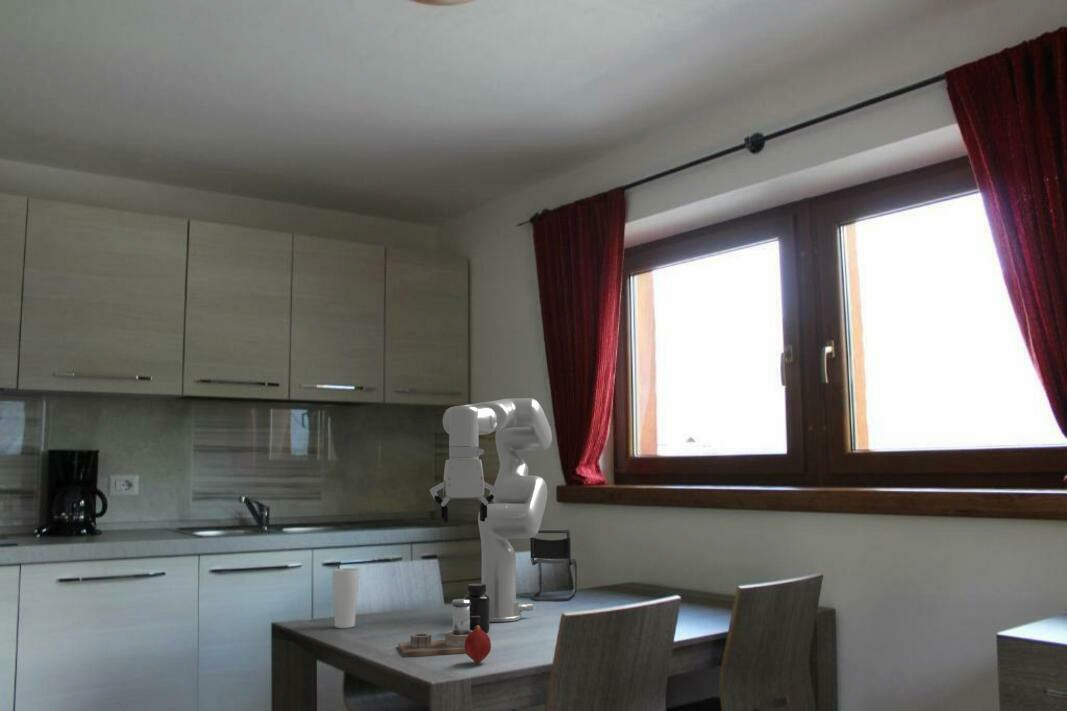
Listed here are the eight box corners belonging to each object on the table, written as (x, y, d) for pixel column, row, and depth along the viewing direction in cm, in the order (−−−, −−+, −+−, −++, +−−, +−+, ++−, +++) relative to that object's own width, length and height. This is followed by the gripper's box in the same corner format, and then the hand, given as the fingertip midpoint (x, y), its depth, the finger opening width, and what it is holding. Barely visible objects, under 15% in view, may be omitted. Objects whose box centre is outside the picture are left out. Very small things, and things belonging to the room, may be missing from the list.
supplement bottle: (469, 635, 234) (469, 586, 235) (458, 631, 240) (458, 583, 241) (494, 633, 237) (494, 585, 238) (483, 629, 243) (483, 582, 244)
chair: (528, 601, 291) (527, 529, 293) (538, 593, 308) (537, 525, 310) (569, 601, 289) (568, 529, 291) (577, 594, 305) (576, 526, 308)
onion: (464, 660, 205) (464, 623, 206) (490, 659, 205) (490, 622, 206) (464, 666, 199) (464, 627, 200) (491, 665, 199) (491, 627, 200)
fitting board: (476, 642, 225) (476, 627, 226) (487, 651, 214) (487, 636, 214) (398, 646, 220) (398, 631, 221) (404, 657, 209) (404, 641, 209)
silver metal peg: (468, 641, 221) (468, 598, 222) (472, 644, 217) (472, 601, 218) (450, 642, 220) (450, 599, 221) (453, 646, 216) (453, 601, 217)
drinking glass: (351, 629, 243) (352, 571, 245) (327, 629, 245) (328, 570, 246) (361, 625, 250) (362, 568, 252) (338, 624, 251) (338, 568, 253)
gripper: (493, 453, 244) (493, 520, 243) (428, 454, 240) (427, 521, 238) (500, 453, 237) (500, 521, 235) (432, 454, 233) (432, 523, 231)
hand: (463, 521), depth 237 cm, fingers open, 9 cm apart
